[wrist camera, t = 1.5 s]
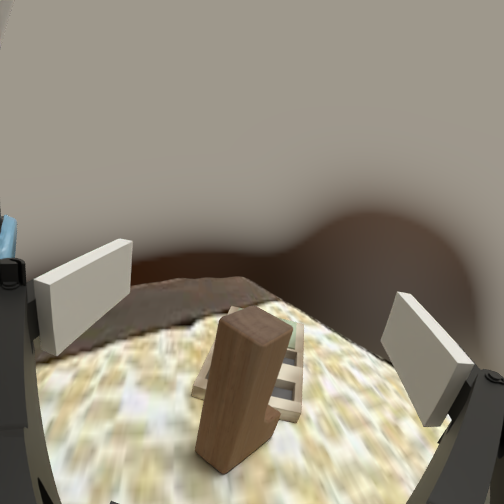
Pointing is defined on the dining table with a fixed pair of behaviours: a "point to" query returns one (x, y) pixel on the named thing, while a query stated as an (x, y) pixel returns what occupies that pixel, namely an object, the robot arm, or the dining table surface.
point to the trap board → (288, 380)
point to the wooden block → (241, 387)
